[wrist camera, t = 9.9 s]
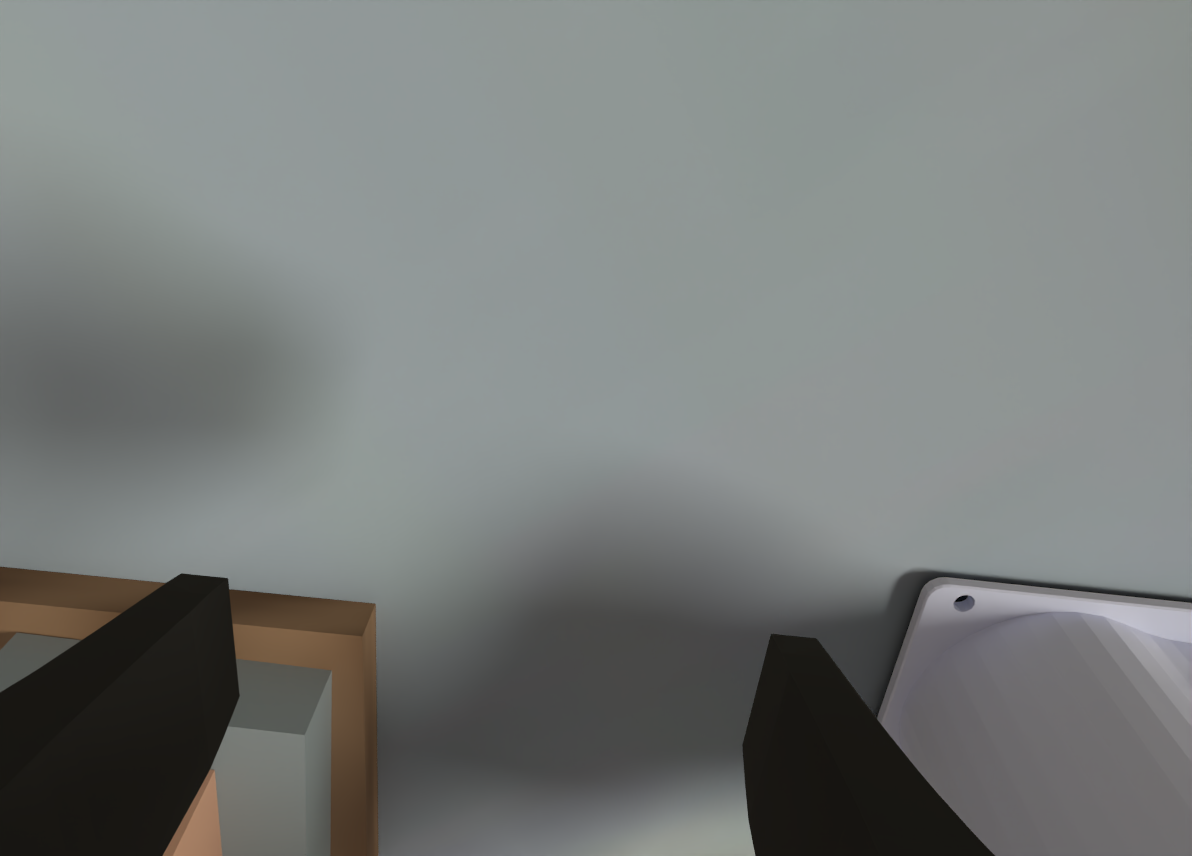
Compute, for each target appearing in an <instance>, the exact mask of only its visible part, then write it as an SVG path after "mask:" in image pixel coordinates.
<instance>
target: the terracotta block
mask: <svg viewBox="0 0 1192 856" xmlns="http://www.w3.org/2000/svg"><path fill="white" fill-rule="evenodd" d="M163 856H222V847H221V836H220V824H219V813H218V801H217V790H216V778H215V770H210V771H209V772H208V774H207V776H206V778H205V780H204V782H203V784H202V785H201V787H200V789H199V791H198V793H197V795H196V796H195V798H194V800H193V802H192V804H191V805H190V807H189V809H188V811H187V813H186V815H185V816H184V818H183V820H182V822H181V824H180V825H179V827H178V829H177V831H176V833H175V834H174V836H173V838H172V840H171V842H170V843H169V845H168V847H167V849H166V850H165V852H164V854H163Z"/></svg>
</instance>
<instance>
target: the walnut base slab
mask: <svg viewBox="0 0 1192 856" xmlns="http://www.w3.org/2000/svg"><path fill="white" fill-rule="evenodd" d="M164 584H166V583H159V582H149V581H139V580H129V579H118V578H108V577H98V576H88V575H78V574H68V573H58V572H47V571H37V570H27V569H17V568H7V567H0V650H1V649H2V648H3V647H4V646H5V645H6V644H7V642H8V641H9V640H10V639H11V638H12V637H13V636H14V635H15V634H16V633H25V634H33V635H42V636H50V637H58V638H67V639H75V640H83V639H84V638H86V637H87V636H89V635H90V634H92V633H93V632H95V631H96V630H98V629H99V628H101V627H102V626H104V625H105V624H106V623H108V622H109V621H111V620H112V619H114V618H115V617H117V616H118V615H120V614H121V613H123V612H124V611H126V610H127V609H128V608H130V607H131V606H133V605H134V604H136V603H137V602H139V601H140V600H142V599H143V598H145V597H146V596H148V595H149V594H151V593H152V592H154V591H155V590H157V589H158V588H160V587H161V586H163V585H164ZM229 594H230V604H231V614H232V624H233V634H234V644H235V654H236V659H242V660H250V661H259V662H267V663H275V664H284V665H292V666H300V667H308V668H316V669H324V670H332V710H331V844H330V856H378V779H377V691H376V604H372V603H362V602H352V601H342V600H332V599H322V598H311V597H301V596H291V595H281V594H271V593H261V592H250V591H240V590H230V589H229Z"/></svg>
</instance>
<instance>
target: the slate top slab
mask: <svg viewBox="0 0 1192 856" xmlns="http://www.w3.org/2000/svg"><path fill="white" fill-rule="evenodd" d="M80 641H81V640H75V639H67V638H58V637H50V636H42V635H33V634H25V633H16V634H15V635H14V636H13V637H12V638H11V639H10V640H9V641H8V642H7V644H6V645H5V646H4V647H3V648H2V649H1V650H0V692H1V691H3V690H5V689H6V688H8V687H10V686H11V685H13V684H15V683H16V682H18V681H20V680H21V679H23V678H24V677H26V676H28V675H29V674H31V673H33V672H34V671H36V670H37V669H39V668H40V667H42V666H43V665H45V664H46V663H48V662H49V661H51V660H52V659H54V658H55V657H57V656H58V655H60V654H61V653H63V652H64V651H66V650H68V649H69V648H71V647H72V646H74V645H75V644H77V643H78V642H80ZM236 664H237V674H238V684H239V694H240V697H239V699H238V702H237V705H236V707H235V710H234V712H233V715H232V717H231V720H230V723H229V725H228V728H227V730H226V733H225V735H224V738H223V740H222V743H221V745H220V747H219V750H218V752H217V754H216V757H215V759H214V762H213V764H212V766H211V769H210V770H215V778H216V790H217V801H218V813H219V824H220V836H221V847H222V856H330V844H331V710H332V670H324V669H316V668H308V667H300V666H292V665H284V664H275V663H267V662H259V661H250V660H242V659H236Z"/></svg>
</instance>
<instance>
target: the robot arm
mask: <svg viewBox="0 0 1192 856" xmlns="http://www.w3.org/2000/svg"><path fill="white" fill-rule="evenodd" d="M963 595H968V597H967V598H966V599H965V600H963V601H961V602H954V601H955V600H956V599H957V598H958V597H960V596H963ZM239 697H240V694H239V684H238V674H237V664H236V654H235V644H234V634H233V624H232V614H231V604H230V594H229V584H228V578H220V577H210V576H200V575H190V574H180V575H178V576H177V577H175V578H174V579H172V580H170V581H169V582H167V583H166V584H164V585H163V586H161V587H160V588H158V589H157V590H155V591H154V592H152V593H151V594H149V595H148V596H146V597H145V598H143V599H142V600H140V601H139V602H137V603H136V604H134V605H133V606H131V607H130V608H128V609H127V610H126V611H124V612H123V613H121V614H120V615H118V616H117V617H115V618H114V619H112V620H111V621H109V622H108V623H106V624H105V625H104V626H102V627H101V628H99V629H98V630H96V631H95V632H93V633H92V634H90V635H89V636H87V637H86V638H84V639H83V640H81V641H80V642H78V643H77V644H75V645H74V646H72V647H71V648H69V649H68V650H66V651H64V652H63V653H61V654H60V655H58V656H57V657H55V658H54V659H52V660H51V661H49V662H48V663H46V664H45V665H43V666H42V667H40V668H39V669H37V670H36V671H34V672H33V673H31V674H29V675H28V676H26V677H24V678H23V679H21V680H20V681H18V682H16V683H15V684H13V685H11V686H10V687H8V688H6V689H5V690H3V691H1V692H0V856H163V854H164V852H165V850H166V849H167V847H168V845H169V843H170V842H171V840H172V838H173V836H174V834H175V833H176V831H177V829H178V827H179V825H180V824H181V822H182V820H183V818H184V816H185V815H186V813H187V811H188V809H189V807H190V805H191V804H192V802H193V800H194V798H195V796H196V795H197V793H198V791H199V789H200V787H201V785H202V784H203V782H204V780H205V778H206V776H207V774H208V772H209V771H210V769H211V766H212V764H213V762H214V759H215V757H216V754H217V752H218V750H219V747H220V745H221V743H222V740H223V738H224V735H225V733H226V730H227V728H228V725H229V723H230V720H231V717H232V715H233V712H234V710H235V707H236V705H237V702H238V699H239ZM743 759H744V773H745V786H746V797H747V808H748V818H749V824H750V830H751V835H752V840H753V845H754V850H755V855H756V856H1192V603H1187V602H1178V601H1168V600H1159V599H1149V598H1139V597H1130V596H1120V595H1111V594H1101V593H1092V592H1082V591H1073V590H1063V589H1054V588H1044V587H1035V586H1025V585H1015V584H1006V583H996V582H987V581H977V580H968V579H958V578H949V577H940V578H936V579H933V580H930V581H929V582H928V583H927V584H925V585H924V587H923V589H922V590H921V593H920V595H919V598H918V601H917V604H916V607H915V610H914V613H913V616H912V619H911V621H910V624H909V627H908V630H907V633H906V636H905V639H904V642H903V644H902V647H901V650H900V653H899V656H898V659H897V662H896V665H895V668H894V670H893V673H892V676H891V679H890V682H889V685H888V688H887V691H886V694H885V696H884V699H883V702H882V705H881V708H880V711H879V714H878V717H877V718H876V717H875V716H874V714H873V713H872V712H871V710H870V709H869V708H868V706H867V705H866V704H865V702H864V701H863V700H862V699H861V697H860V696H859V695H858V693H857V692H856V691H855V689H854V688H853V687H852V685H851V684H850V683H849V681H848V680H847V679H846V677H845V676H844V674H843V673H842V672H841V670H840V669H839V668H838V666H837V665H836V664H835V662H834V661H833V660H832V658H831V657H830V656H829V654H828V653H827V652H826V651H825V649H824V648H823V647H822V645H821V644H820V643H819V641H818V640H817V639H816V638H806V637H796V636H786V635H777V634H771V636H770V640H769V644H768V648H767V652H766V656H765V660H764V664H763V668H762V672H761V675H760V679H759V683H758V687H757V691H756V695H755V699H754V703H753V707H752V710H751V714H750V718H749V722H748V726H747V730H746V734H745V738H744V742H743Z"/></svg>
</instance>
